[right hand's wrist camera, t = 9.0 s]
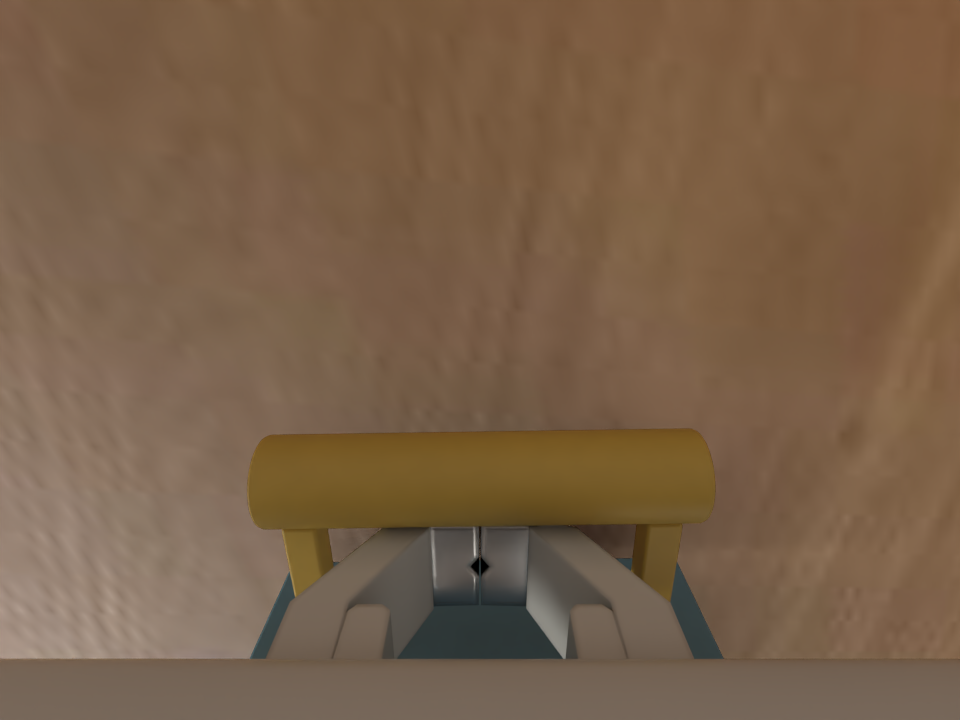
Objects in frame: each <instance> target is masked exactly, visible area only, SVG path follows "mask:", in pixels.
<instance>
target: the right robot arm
mask: <svg viewBox="0 0 960 720" xmlns="http://www.w3.org/2000/svg"><path fill="white" fill-rule="evenodd" d="M480 543H481V550H480V554H481V605H493V606H526V609H527V610H528V612H529V613H530V614H531V616H532V617H533V618H534V620H535V621H536V623H537V624H538V625H539V627H540V628H541V629H542V631H543V632H544V633H545V635H546V636H547V637H548V639H549V640H550V641H551V643H552V644H553V645H554V647H555V648H556V650H557V651H558V652H559V654H560V655H561V656H562V658H563V659H397V658H398V656H399V655H400V654H401V652H402V651H403V650H404V648H405V647H406V646H407V644H408V643H409V642H410V640H411V639H412V638H413V636H414V635H415V634H416V632H417V631H418V630H419V628H420V627H421V626H422V624H423V623H424V621H425V620H426V619H427V617H428V616H429V615H430V613H431V612H432V611H433V609H434V606H466V605H479V526H471V527H400V528H382V529H381V530H380V531H378V532H377V533H376V534H375V535H373V536H372V537H371V538H370V539H368V540H367V541H366V542H365V543H363V544H362V545H361V546H360V547H358V548H357V549H356V550H355V551H353V552H352V553H351V554H349V555H348V556H347V557H346V558H344V559H343V560H342V561H341V562H339V563H338V564H337V565H336V566H334V567H333V568H332V569H331V570H329V571H328V572H327V573H326V574H324V575H323V576H322V577H321V578H319V579H318V580H317V581H316V582H314V583H313V584H312V585H311V586H309V587H308V588H307V589H305V590H304V591H303V592H302V593H300V594H299V595H298V596H297V597H295V598H294V599H293V600H292V601H290V603H289V605H288V608H287V610H286V612H285V615H284V617H283V619H282V622H281V624H280V626H279V628H278V631H277V633H276V635H275V638H274V640H273V642H272V645H271V647H270V649H269V652H268V654H267V656H266V659H0V720H960V659H694V657H693V655H692V652H691V650H690V648H689V645H688V643H687V640H686V638H685V636H684V633H683V631H682V629H681V626H680V624H679V622H678V619H677V617H676V615H675V612H674V610H673V607H672V605H671V603H670V602H669V601H668V600H666V599H665V598H664V597H663V596H661V595H660V594H659V593H658V592H656V591H655V590H654V589H653V588H651V587H650V586H649V585H648V584H646V583H645V582H644V581H643V580H641V579H640V578H639V577H638V576H636V575H635V574H634V573H633V572H631V571H630V570H629V569H628V568H626V567H625V566H624V565H623V564H621V563H620V562H619V561H618V560H616V559H615V558H614V557H613V556H611V555H610V554H609V553H608V552H606V551H605V550H604V549H603V548H601V547H600V546H599V545H598V544H596V543H595V542H594V541H593V540H591V539H590V538H589V537H588V536H586V535H585V534H584V533H583V532H581V531H580V530H579V529H578V528H576V527H568V525H543V526H480Z"/></svg>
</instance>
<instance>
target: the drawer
mask: <svg viewBox="0 0 960 720" xmlns="http://www.w3.org/2000/svg"><path fill="white" fill-rule="evenodd" d="M247 500H248V507H249V512H250V515H251V518H252V520H253V522H254V523H255V525H256V526H258V527H259V528H261V529H282V535H283V540H284V545H285V550H286V555H287V560H288V565H289V570H290V571H289V573H288V576H287V578H286V580H285V582H284V584H283V587H282V589H281V591H280V593H279V595H278V598H277V600H276V602H275V604H274V606H273V609H272V611H271V613H270V615H269V617H268V620H267V622H266V624H265V626H264V628H263V631H262V633H261V635H260V637H259V639H258V642H257V644H256V646H255V648H254V650H253V653H252V655H251V657H250V659H266V656H267V654H268V652H269V649H270V647H271V645H272V642H273V640H274V638H275V635H276V633H277V631H278V628H279V626H280V624H281V622H282V619H283V617H284V615H285V612H286V610H287V608H288V605H289V603H290V601H292V600H293V599H294V598H295V597H297V596H298V595H299V594H300V593H302V592H303V591H304V590H305V589H307V588H308V587H309V586H311V585H312V584H313V583H314V582H316V581H317V580H318V579H319V578H321V577H322V576H323V575H324V574H326V573H327V572H328V571H329V570H331V569H332V568H333V567H334V566H336V565H337V564H338V563H339V562H333V559H332V553H331V547H330V540H329V534H328V528H400V527H471V526H543V525H614V524H637V525H636V533H635V541H634V550H633V558H615V559H616V560H618V561H619V562H620V563H621V564H623V565H624V566H625V567H626V568H628V569H629V570H630V571H631V572H633V573H634V574H635V575H636V576H638V577H639V578H640V579H641V580H643V581H644V582H645V583H646V584H648V585H649V586H650V587H651V588H653V589H654V590H655V591H656V592H658V593H659V594H660V595H661V596H663V597H664V598H665V599H666V600H668V601H669V602H670V603H671V605H672V607H673V610H674V612H675V615H676V617H677V619H678V622H679V624H680V626H681V629H682V631H683V633H684V636H685V638H686V640H687V643H688V645H689V648H690V650H691V652H692V655H693V657H694V659H724V658H723V656H722V654H721V652H720V650H719V648H718V646H717V644H716V642H715V640H714V638H713V636H712V634H711V631H710V629H709V627H708V625H707V623H706V621H705V619H704V617H703V615H702V613H701V611H700V609H699V607H698V604H697V602H696V600H695V598H694V596H693V594H692V592H691V590H690V588H689V586H688V584H687V582H686V580H685V577H684V575H683V573H682V571H681V569H680V567H679V565H678V563H677V558H678V551H679V545H680V539H681V533H682V526H683V525H682V524H686V523H702V522H704V521H706V520H707V519H708V518H709V516H710V515H711V512H712V510H713V506H714V500H715V474H714V467H713V462H712V458H711V455H710V452H709V449H708V446H707V444H706V442H705V440H704V439H703V437H702V436H701V435H700V433H698V432H697V431H695V430H693V429H689V428H688V429H622V430H556V431H490V432H424V433H357V434H291V435H269V436H267V437H265V438H263V439H262V440H261V441H260V443H259V444H258V446H257V448H256V449H255V452H254V454H253V457H252V460H251V464H250V468H249V473H248V482H247ZM397 659H563V658H562V656H561V655H560V654H559V652H558V651H557V650H556V648H555V647H554V645H553V644H552V643H551V641H550V640H549V639H548V637H547V636H546V635H545V633H544V632H543V631H542V629H541V628H540V627H539V625H538V624H537V623H536V621H535V620H534V618H533V617H532V616H531V614H530V613H529V612H528V610H527V609H526V606H493V605H481V560H479V605H466V606H434V609H433V611H432V612H431V613H430V615H429V616H428V617H427V619H426V620H425V621H424V623H423V624H422V626H421V627H420V628H419V630H418V631H417V632H416V634H415V635H414V636H413V638H412V639H411V640H410V642H409V643H408V644H407V646H406V647H405V648H404V650H403V651H402V652H401V654H400V655H399V656H398V658H397Z"/></svg>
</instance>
